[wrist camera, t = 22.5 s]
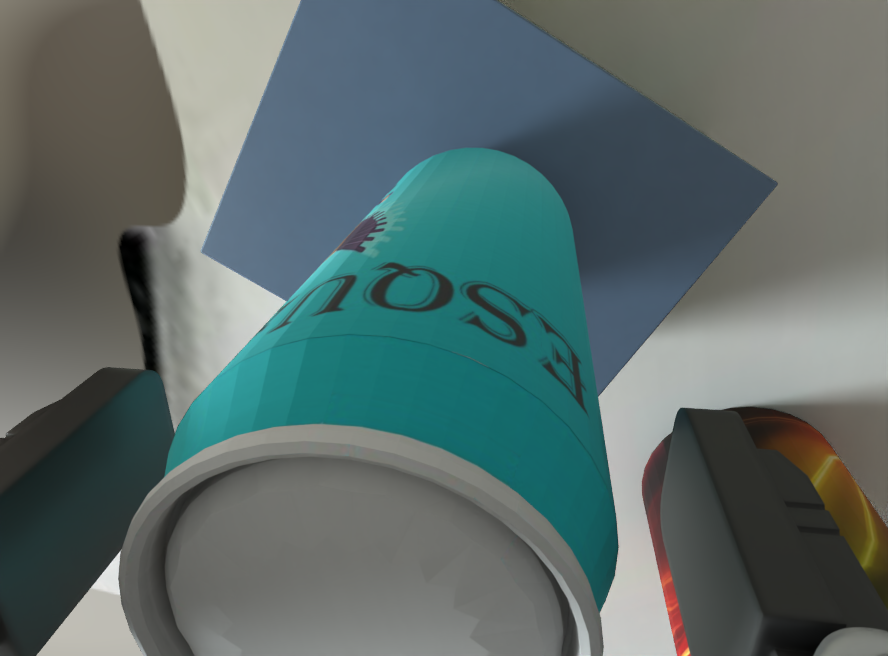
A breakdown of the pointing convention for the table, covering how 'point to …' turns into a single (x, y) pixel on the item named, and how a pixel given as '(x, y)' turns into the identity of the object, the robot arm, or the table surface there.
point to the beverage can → (396, 448)
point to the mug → (867, 535)
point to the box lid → (478, 126)
